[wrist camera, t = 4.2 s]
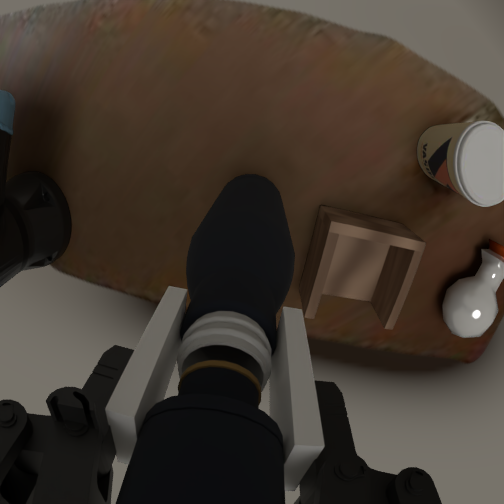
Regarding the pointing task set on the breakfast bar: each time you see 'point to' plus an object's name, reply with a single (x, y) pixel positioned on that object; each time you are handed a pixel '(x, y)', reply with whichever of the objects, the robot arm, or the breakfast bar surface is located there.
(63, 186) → the breakfast bar surface
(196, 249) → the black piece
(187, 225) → the breakfast bar surface
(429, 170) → the coffee cup
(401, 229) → the u rest
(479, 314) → the potion bottle
